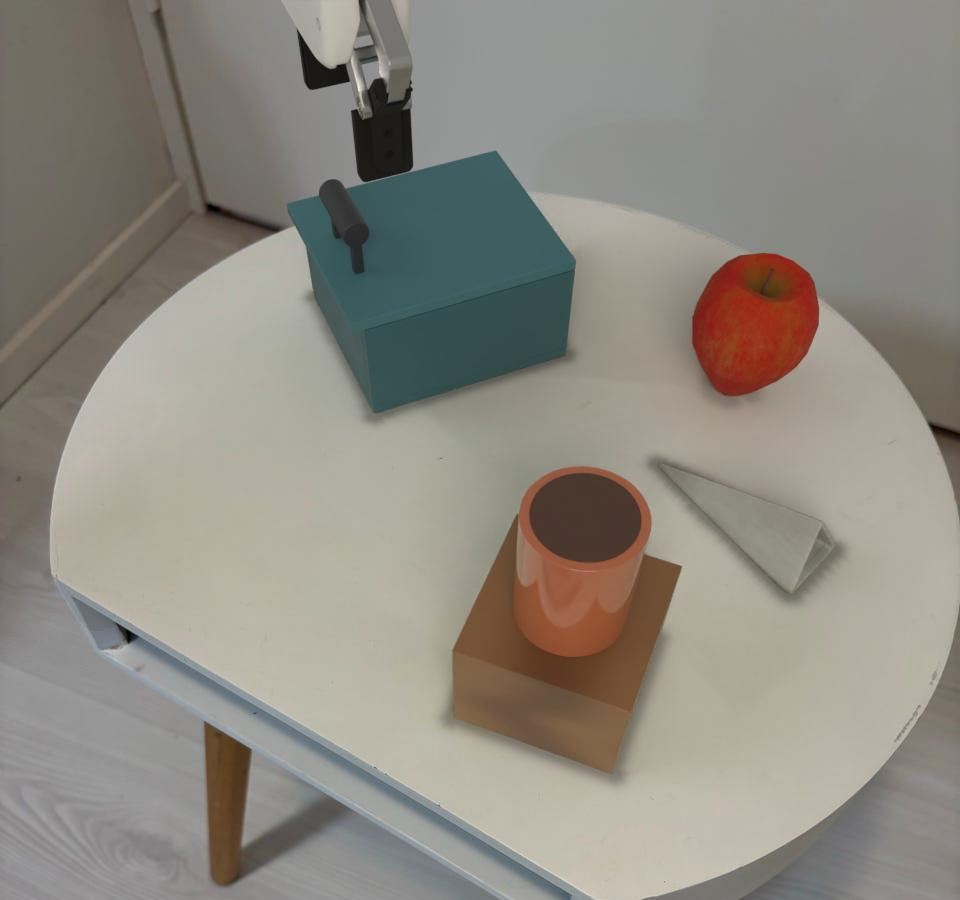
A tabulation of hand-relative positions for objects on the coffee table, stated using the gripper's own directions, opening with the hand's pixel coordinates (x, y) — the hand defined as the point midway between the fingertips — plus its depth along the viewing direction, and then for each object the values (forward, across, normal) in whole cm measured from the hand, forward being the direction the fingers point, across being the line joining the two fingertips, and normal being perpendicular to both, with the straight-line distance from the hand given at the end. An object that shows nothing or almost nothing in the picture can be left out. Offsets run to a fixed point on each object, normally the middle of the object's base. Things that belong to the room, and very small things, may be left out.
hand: (357, 127), depth 59 cm
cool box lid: (+11, -2, +5) cm, 12 cm away
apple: (+19, +12, +23) cm, 33 cm away
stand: (+19, +30, +1) cm, 35 cm away
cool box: (+19, -2, +6) cm, 20 cm away
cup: (+11, +30, +1) cm, 31 cm away
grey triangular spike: (+19, +24, +16) cm, 35 cm away
